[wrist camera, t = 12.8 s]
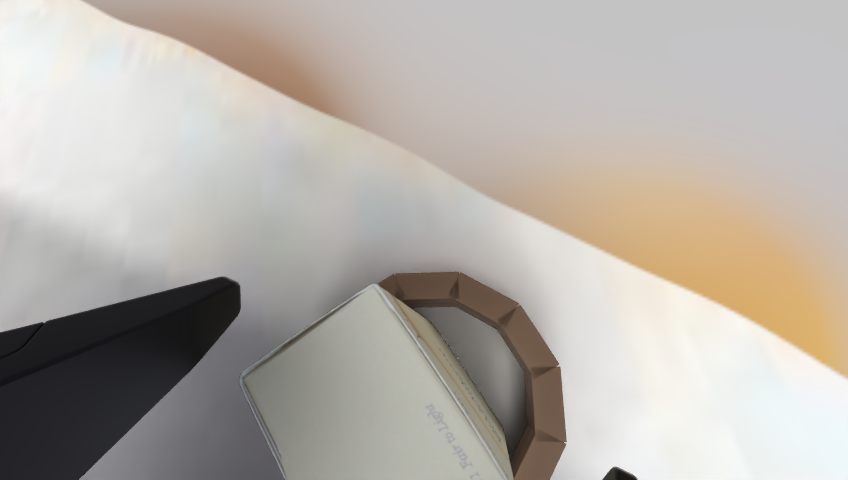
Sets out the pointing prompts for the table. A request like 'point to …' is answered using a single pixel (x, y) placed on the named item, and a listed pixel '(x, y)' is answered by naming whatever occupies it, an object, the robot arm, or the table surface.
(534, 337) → the walnut ring
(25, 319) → the table surface
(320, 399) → the skincare box
